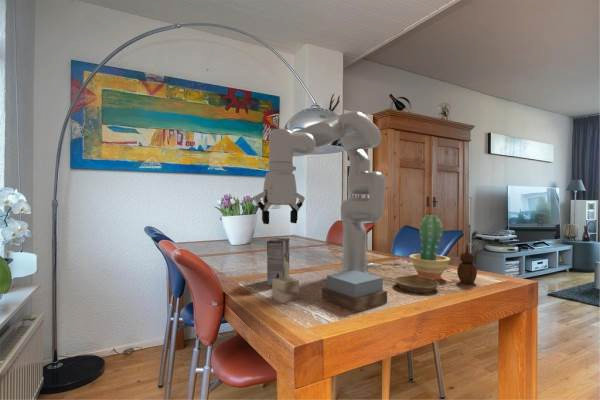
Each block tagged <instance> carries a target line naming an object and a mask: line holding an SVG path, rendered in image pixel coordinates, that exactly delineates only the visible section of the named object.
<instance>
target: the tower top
mask: <svg viewBox="0 0 600 400" xmlns="http://www.w3.org/2000/svg"><path fill="white" fill-rule="evenodd" d="M383 283H384V279H383V277H381V276H378V275H374V274H371V273H370V274H366V273H363V272H359V271H355V270H353V271H348V272H342V273H339V272H338V273H333V274H327V275H326V287H327V288H328V289H330V290H333V291H336V292H339V293H342V294H344V295H347V296H350V297H353V298H358V297H362V296H365V295H369V294H373V293H376V292H380V291H383V289H384V284H383Z"/></svg>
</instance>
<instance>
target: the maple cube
mask: <svg viewBox="0 0 600 400" xmlns="http://www.w3.org/2000/svg"><path fill="white" fill-rule="evenodd" d="M271 287H272V289H271V290H272V291H271V292H272V293H271V295H272V297H271V298H272V299H274V300H276V301H278V302H280V303H282V304H284V303H288V302H293V301H296V300H299V299H300V298H299V297H300V295H299V293H300V280H299V279H296V278H293V277H291V276H290V275H289V276H287V277H281V278H275V279H272V285H271Z"/></svg>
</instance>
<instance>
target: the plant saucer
mask: <svg viewBox="0 0 600 400" xmlns="http://www.w3.org/2000/svg"><path fill="white" fill-rule="evenodd" d="M394 282H395V283H396V285H397V286H398V287H399V288H400V289H402V290H405V291H408V292H413V293H419V294H420V293H431V292H433V291H434V290H435V289H437V288H438V287H439V285H440V283H439V281H438V280H432V279H428V278H423V277H418V276H414V275H413V276H410V275H409V276H408V275H407V276H398V277H396V278H395V277H394Z"/></svg>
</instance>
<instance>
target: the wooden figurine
mask: <svg viewBox="0 0 600 400" xmlns="http://www.w3.org/2000/svg"><path fill="white" fill-rule="evenodd" d="M459 259H460V261H461V262H460V263H459V264H458V266H457V269H456V270H457V277H458V279H459V281H460V282H461V283H464V284H473V283H474V282H475V281H476V279H477V275H478V269H477V268H478V267H477V265H476V263H474V262H475V255H474V254H473V252H469V246H468V243H466V246H465V252H464V251H463V252H461V254H460V257H459Z"/></svg>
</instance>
